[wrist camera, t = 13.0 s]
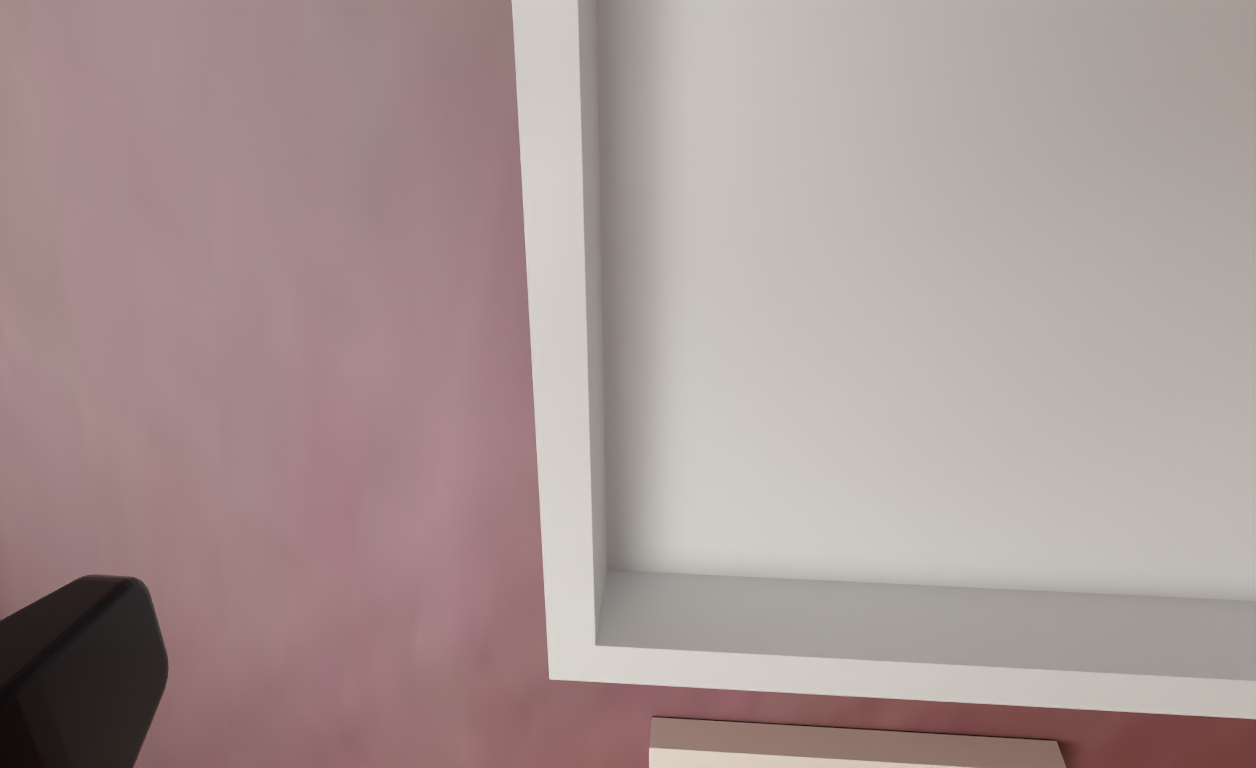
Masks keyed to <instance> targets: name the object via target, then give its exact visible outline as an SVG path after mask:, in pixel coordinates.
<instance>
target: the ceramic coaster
mask: <svg viewBox="0 0 1256 768" xmlns="http://www.w3.org/2000/svg"><path fill="white" fill-rule="evenodd" d="M649 768H1066V766H1065V763H1064V760H1063V757H1062V755H1061V752H1060V749H1059V746H1058V744H1057V741H1048V740H1031V739H1014V738H997V737H980V736H963V735H946V734H929V733H912V732H895V731H878V730H861V729H844V728H827V727H810V726H793V725H776V724H759V723H742V722H725V721H708V720H691V719H674V718H657V717H652V721H651V732H650V744H649Z"/></svg>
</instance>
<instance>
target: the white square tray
mask: <svg viewBox="0 0 1256 768" xmlns="http://www.w3.org/2000/svg"><path fill="white" fill-rule="evenodd" d="M512 12H513V30H514V48H515V66H516V84H517V102H518V120H519V138H520V156H521V174H522V192H523V210H524V229H525V247H526V265H527V283H528V301H529V319H530V337H531V355H532V373H533V391H534V409H535V427H536V445H537V463H538V481H539V499H540V518H541V536H542V554H543V572H544V590H545V608H546V626H547V644H548V662H549V679H554V680H571V681H589V682H607V683H625V684H642V685H660V686H678V687H696V688H713V689H731V690H749V691H767V692H784V693H802V694H820V695H838V696H855V697H873V698H891V699H908V700H926V701H944V702H962V703H979V704H997V705H1015V706H1033V707H1050V708H1068V709H1086V710H1104V711H1121V712H1139V713H1157V714H1175V715H1192V716H1210V717H1228V718H1246V719H1256V0H512Z"/></svg>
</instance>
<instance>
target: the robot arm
mask: <svg viewBox="0 0 1256 768" xmlns="http://www.w3.org/2000/svg"><path fill="white" fill-rule="evenodd" d="M167 678H168V657H167V652H166V649H165V645H164V641H163V638H162V634H161V631H160V627H159V624H158V620H157V617H156V613H155V610H154V606H153V603H152V599H151V596H150V593H149V590H148V588H147V587H146V585H145V584H144V583H143V582H142V581H141V580H139V579H137V578H134V577H127V576H111V575H87V576H83V577H81V578H78V579H76V580H74V581H73V582H71V583H69V584H67V585H65V586H63V587H62V588H60V589H58V590H56V591H54V592H52V593H51V594H49V595H47V596H45V597H43V598H41V599H39V600H38V601H36V602H34V603H32V604H30V605H28V606H27V607H25V608H23V609H21V610H19V611H17V612H16V613H14V614H12V615H10V616H8V617H6V618H4V619H3V620H1V621H0V768H133V767H134V764H135V762H136V760H137V757H138V755H139V752H140V750H141V747H142V745H143V742H144V740H145V737H146V735H147V732H148V730H149V727H150V725H151V722H152V720H153V717H154V715H155V712H156V710H157V707H158V705H159V702H160V700H161V697H162V695H163V692H164V689H165V686H166V682H167Z"/></svg>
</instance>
